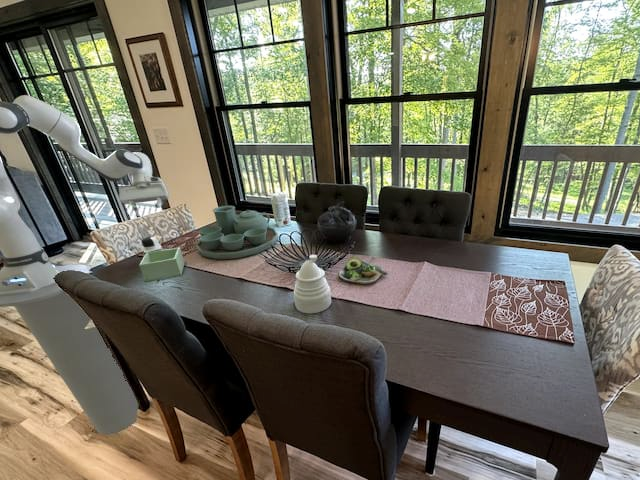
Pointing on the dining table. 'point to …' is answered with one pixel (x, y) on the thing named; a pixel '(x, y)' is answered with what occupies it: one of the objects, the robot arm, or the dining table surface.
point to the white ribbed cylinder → (280, 209)
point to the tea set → (236, 234)
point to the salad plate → (361, 272)
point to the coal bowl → (337, 223)
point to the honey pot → (311, 288)
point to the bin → (162, 264)
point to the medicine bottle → (151, 244)
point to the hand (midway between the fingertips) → (146, 208)
